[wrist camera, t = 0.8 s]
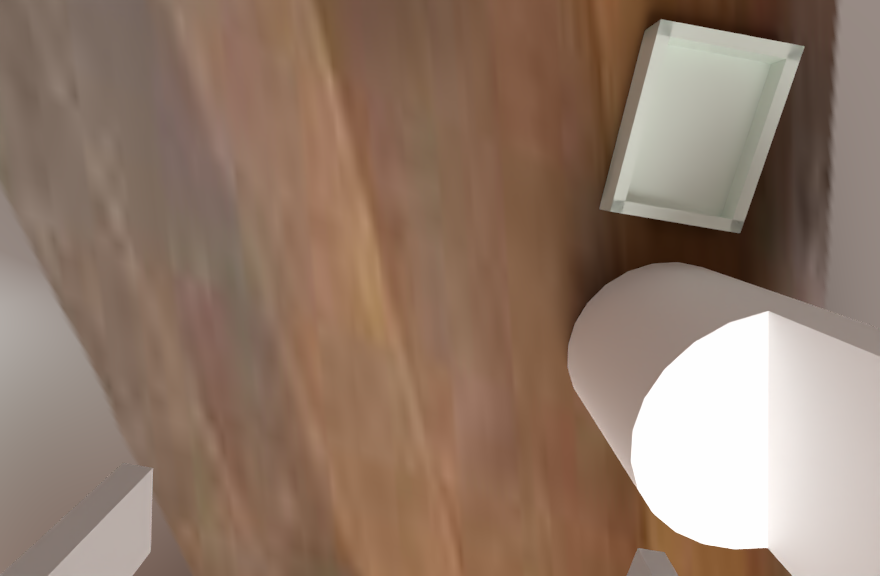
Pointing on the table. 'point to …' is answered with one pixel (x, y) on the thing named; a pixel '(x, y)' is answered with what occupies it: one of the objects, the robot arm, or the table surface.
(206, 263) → the table surface
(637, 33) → the table surface
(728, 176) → the tray
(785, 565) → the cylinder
